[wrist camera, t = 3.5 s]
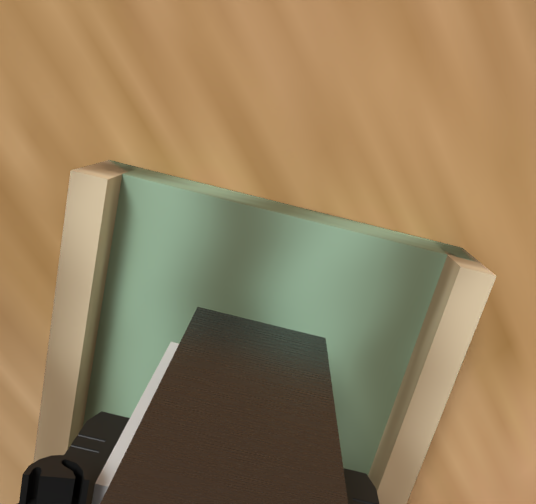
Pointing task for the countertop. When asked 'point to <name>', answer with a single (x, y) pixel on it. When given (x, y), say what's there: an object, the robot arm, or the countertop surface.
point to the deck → (256, 307)
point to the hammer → (237, 421)
